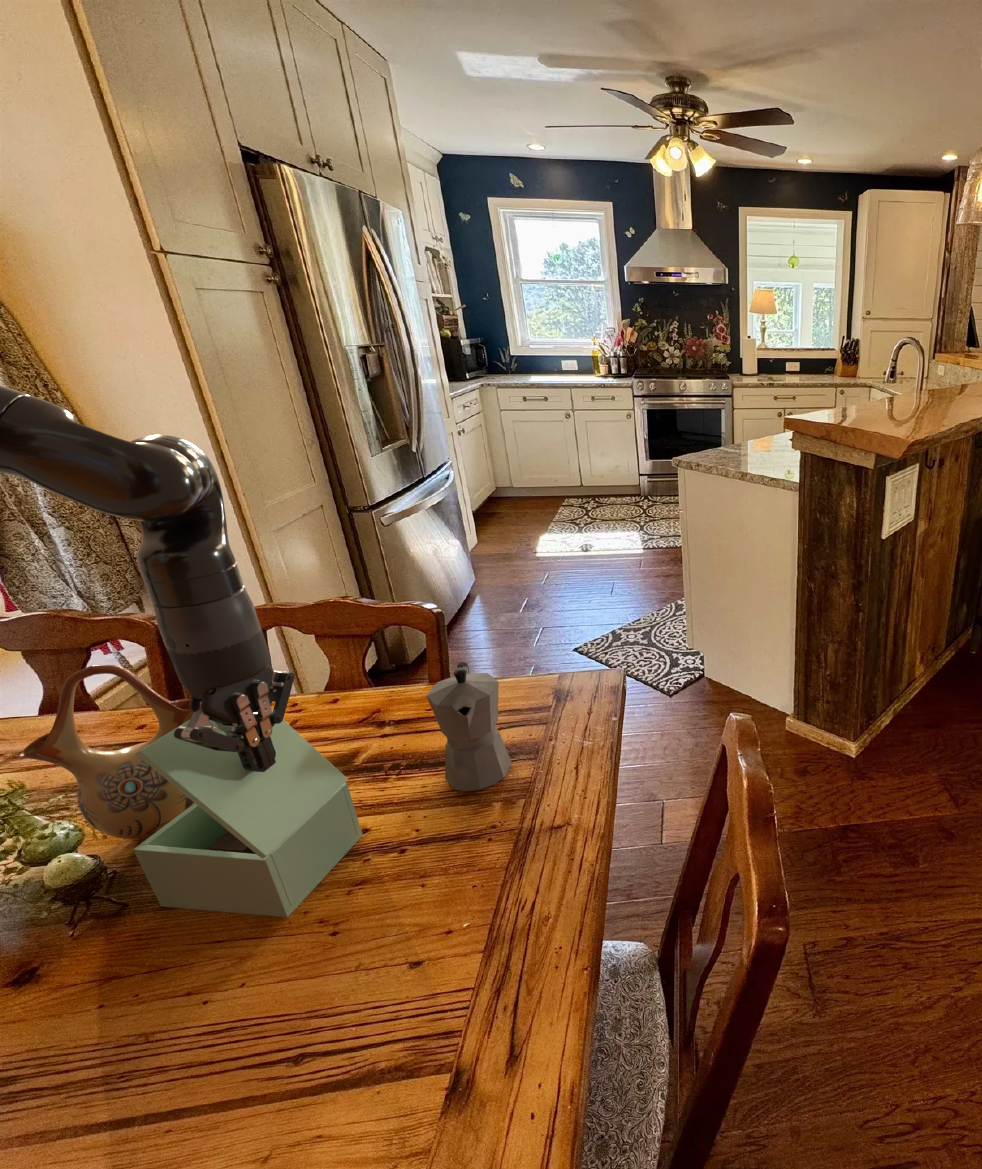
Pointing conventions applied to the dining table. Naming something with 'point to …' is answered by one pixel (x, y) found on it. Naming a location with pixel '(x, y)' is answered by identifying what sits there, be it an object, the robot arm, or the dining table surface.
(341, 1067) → the dining table surface
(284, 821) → the lid
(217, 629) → the robot arm
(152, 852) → the box
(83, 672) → the ceramic vessel
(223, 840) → the block
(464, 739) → the coffeepot
